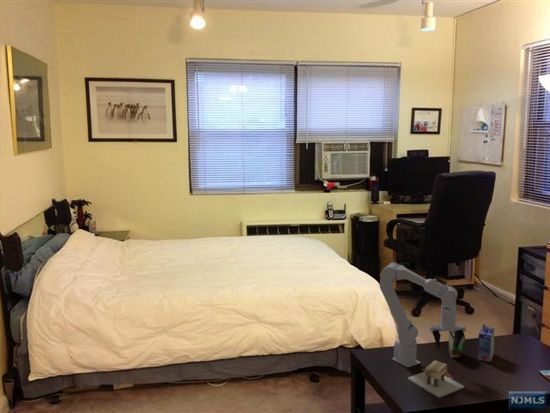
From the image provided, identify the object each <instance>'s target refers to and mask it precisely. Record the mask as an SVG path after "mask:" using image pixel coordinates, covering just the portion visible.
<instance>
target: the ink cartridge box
mask: <svg viewBox="0 0 550 413" xmlns="http://www.w3.org/2000/svg"><path fill="white" fill-rule="evenodd" d="M477 350H478V351H477V353H478V355H477V357H478V358H477V359H478V360H480V361H485V362H489V363H490V362H492V359H493V357H494V354H495V328H494V327H489V326H486V324H485V323H484V324H483V325H482V327H481V328H480V331H479V332H478V349H477Z"/></svg>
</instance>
